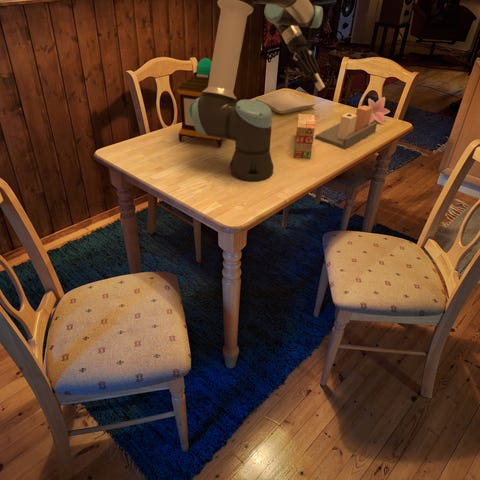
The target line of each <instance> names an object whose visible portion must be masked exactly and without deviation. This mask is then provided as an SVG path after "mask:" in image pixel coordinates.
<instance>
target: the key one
mask: <svg viewBox="0 0 480 480" xmlns="http://www.w3.org/2000/svg"><path fill="white" fill-rule="evenodd" d="M356 119H357V115H356V114H354V113H351V112H346V113H344V114H343V115H341V116H340V121H339V123H340V126H339V132H338V138H339V139H342V140H344V138H346V137H348V136H349V135H351V134H353V133H354V129H355V124H356Z"/></svg>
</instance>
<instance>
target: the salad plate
mask: <svg viewBox="0 0 480 480" xmlns="http://www.w3.org/2000/svg"><path fill="white" fill-rule="evenodd" d="M254 100H256V101H260V102H262V103H264V104H266V105H267V106H268V107H269V108H270V109H271V111H274V112H275V113H278V114H281V115H284V114H285V113H286V114H290V113H294V112H299V111H303V110H307V109H310V108H313V107H314V106H315V105H316V103H315V102H313V101H311V100H310V99H307V98H305V97H303V96H301V95H298V94H296V93H293V92H292V91H283V92H276V93H275V92H274V93H272V94H265V95H261V96H256V97H254Z"/></svg>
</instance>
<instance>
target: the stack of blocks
mask: <svg viewBox="0 0 480 480" xmlns="http://www.w3.org/2000/svg"><path fill="white" fill-rule="evenodd" d="M315 126H316V119H315V115H314V114H309V113H297V122H296V133H295V144H294V152H293V158H294V159H304V160H305V159H306V160H311V157H312V149H313V143H314V138H315V137H314V136H315V131H316V130H315V129H316V128H315Z"/></svg>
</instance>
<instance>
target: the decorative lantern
mask: <svg viewBox="0 0 480 480" xmlns="http://www.w3.org/2000/svg"><path fill="white" fill-rule="evenodd" d="M211 65H212V60H211V59H210V58H207V57H203V58H202V59H200V60H199V62H198V63H197V64H196V66H195V67H196V71H195V72H193V75H191V76H190V77H187V79H185V80H184V81H182V82H181V83H180V84H179V85H178V86H177V87H176V90H177V91H176V92H177V93H178V95H179V97H180V98H179V100H180V101H179V103H180V115H181V116H180V117H181V128H180V130H179V132H178V133H179V134H178V139H179V142H181V143H183V142H184V141H185V137H187V138H194V139H199V140H200V139H201V140H204V141H205V140H206V141H213V142H216V144H217V145H216V146H217V148H218V149H220V148H221V147H222V142H223V140H224V139H223V138H218V137H213V136H207V135H204V134H201V133H199V132H197V131H196V129H195V128H194V125H193V122H192V106H193V103H195V100H196V99H197V98H199V97H201V96H202V91H203V90H205V89H206V88H207V87H208V82H209V76H210V71H211Z"/></svg>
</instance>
